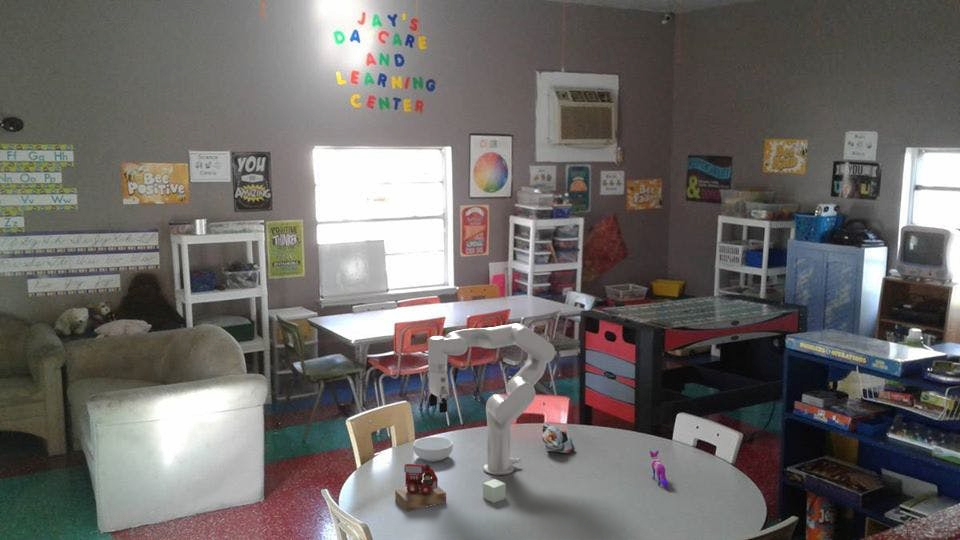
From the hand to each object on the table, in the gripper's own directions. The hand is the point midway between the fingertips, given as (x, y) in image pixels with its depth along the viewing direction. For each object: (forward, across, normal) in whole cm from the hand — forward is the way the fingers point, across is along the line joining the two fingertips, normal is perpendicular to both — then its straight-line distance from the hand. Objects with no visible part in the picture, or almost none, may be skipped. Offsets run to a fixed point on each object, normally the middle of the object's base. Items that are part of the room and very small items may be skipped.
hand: (438, 408), depth 318 cm
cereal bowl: (+29, +19, -6) cm, 35 cm away
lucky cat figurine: (+29, +2, -59) cm, 65 cm away
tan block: (+28, -19, +16) cm, 38 cm away
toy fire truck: (+24, -19, +16) cm, 35 cm away
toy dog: (+29, -45, -76) cm, 93 cm away
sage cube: (+28, -29, -10) cm, 42 cm away
